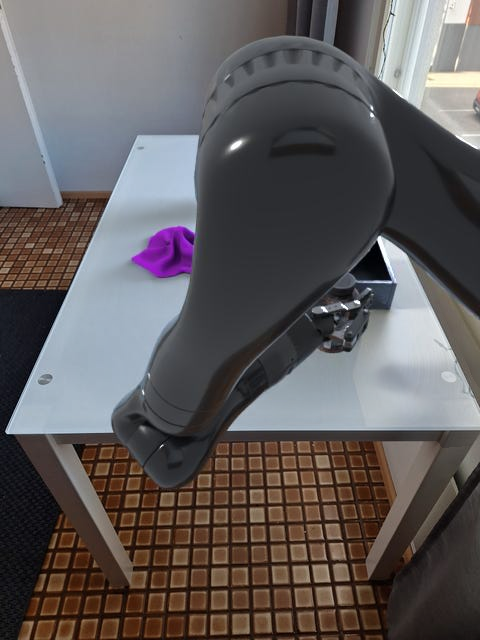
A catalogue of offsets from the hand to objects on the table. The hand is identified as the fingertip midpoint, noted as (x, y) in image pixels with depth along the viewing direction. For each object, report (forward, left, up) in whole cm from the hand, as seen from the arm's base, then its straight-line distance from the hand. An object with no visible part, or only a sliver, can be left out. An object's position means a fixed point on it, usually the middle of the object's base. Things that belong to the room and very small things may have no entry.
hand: (348, 284), depth 65 cm
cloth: (+40, -14, -17) cm, 46 cm away
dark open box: (+8, -22, -17) cm, 29 cm away
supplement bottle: (0, +3, -9) cm, 10 cm away
